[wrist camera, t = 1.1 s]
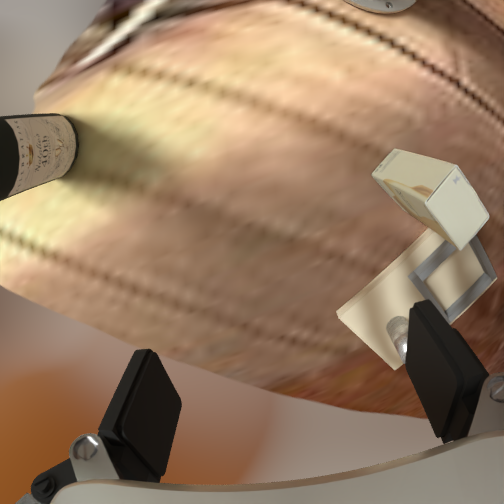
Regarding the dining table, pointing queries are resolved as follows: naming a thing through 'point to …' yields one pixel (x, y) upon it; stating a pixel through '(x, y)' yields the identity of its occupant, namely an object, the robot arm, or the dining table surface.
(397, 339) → the steel pin
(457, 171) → the skincare box
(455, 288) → the board
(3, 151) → the wine bottle
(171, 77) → the dining table surface
